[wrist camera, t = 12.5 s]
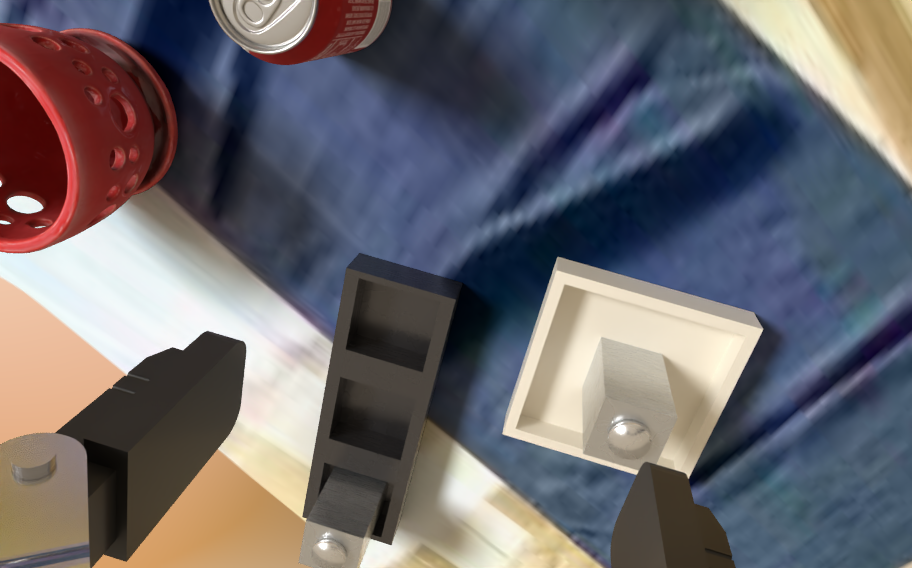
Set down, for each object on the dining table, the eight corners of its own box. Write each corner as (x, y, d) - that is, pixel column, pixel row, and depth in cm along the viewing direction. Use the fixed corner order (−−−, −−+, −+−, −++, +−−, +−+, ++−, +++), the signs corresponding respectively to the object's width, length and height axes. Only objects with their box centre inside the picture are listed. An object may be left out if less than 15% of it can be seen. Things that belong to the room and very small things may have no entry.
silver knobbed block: (662, 354, 47) (678, 424, 39) (640, 404, 49) (652, 480, 41) (601, 336, 47) (605, 402, 39) (582, 387, 49) (582, 459, 41)
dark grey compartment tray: (462, 282, 48) (455, 299, 45) (400, 519, 58) (391, 545, 55) (359, 253, 48) (346, 267, 46) (315, 493, 58) (302, 517, 56)
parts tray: (753, 312, 45) (763, 329, 43) (678, 466, 51) (683, 488, 48) (557, 256, 46) (556, 270, 43) (505, 414, 52) (502, 434, 49)
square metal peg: (392, 468, 55) (361, 544, 47) (382, 507, 57) (351, 587, 49) (341, 453, 55) (303, 526, 48) (333, 492, 57) (295, 568, 49)
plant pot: (50, -18, 44) (-121, -26, 34) (219, 82, 45) (105, 107, 34) (13, 146, 50) (-145, 185, 39) (164, 233, 51) (51, 296, 40)
